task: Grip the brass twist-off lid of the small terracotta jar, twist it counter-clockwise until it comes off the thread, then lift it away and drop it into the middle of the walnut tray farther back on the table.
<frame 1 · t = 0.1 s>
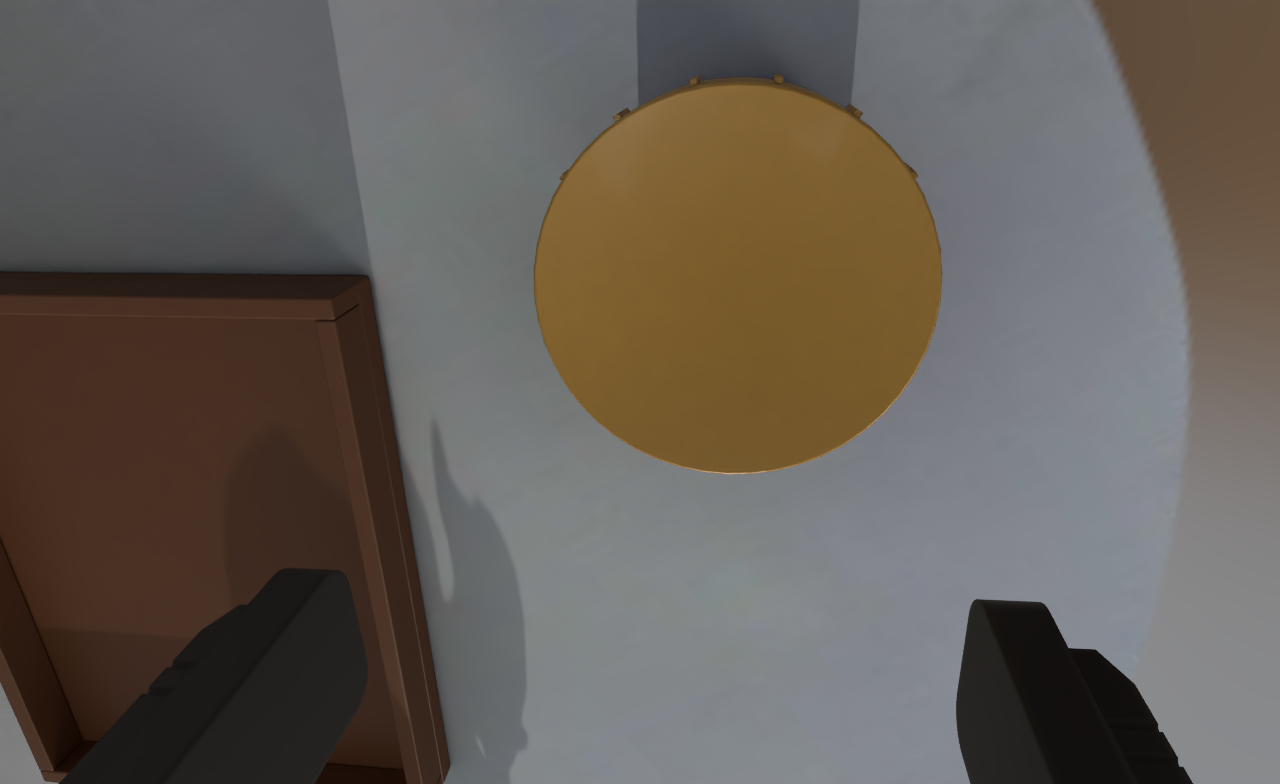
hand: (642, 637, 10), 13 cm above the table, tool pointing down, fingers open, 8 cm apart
jar lid: (731, 290, 12), point 9 cm above the table, screwed on, not yet turned
tray: (205, 544, 28), on the table
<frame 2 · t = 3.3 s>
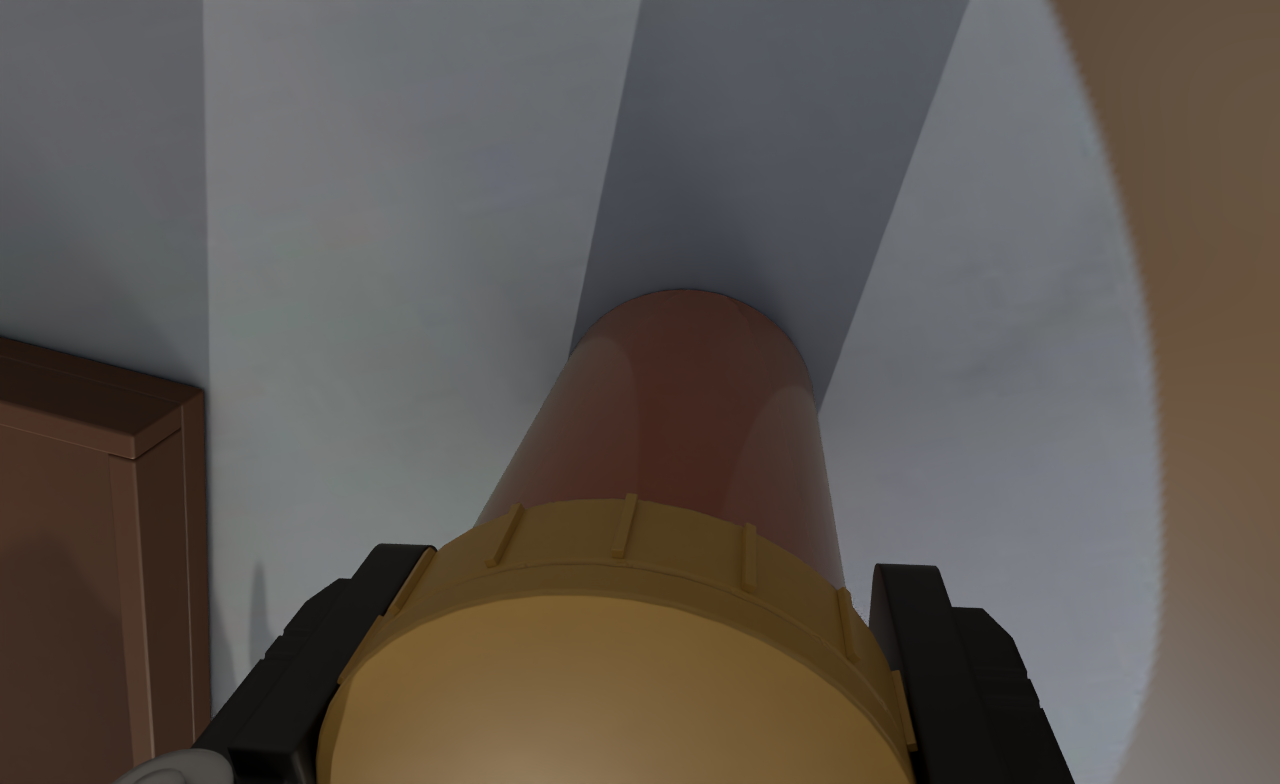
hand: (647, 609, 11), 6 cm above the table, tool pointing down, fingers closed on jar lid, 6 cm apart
jar: (685, 410, 16), on the table
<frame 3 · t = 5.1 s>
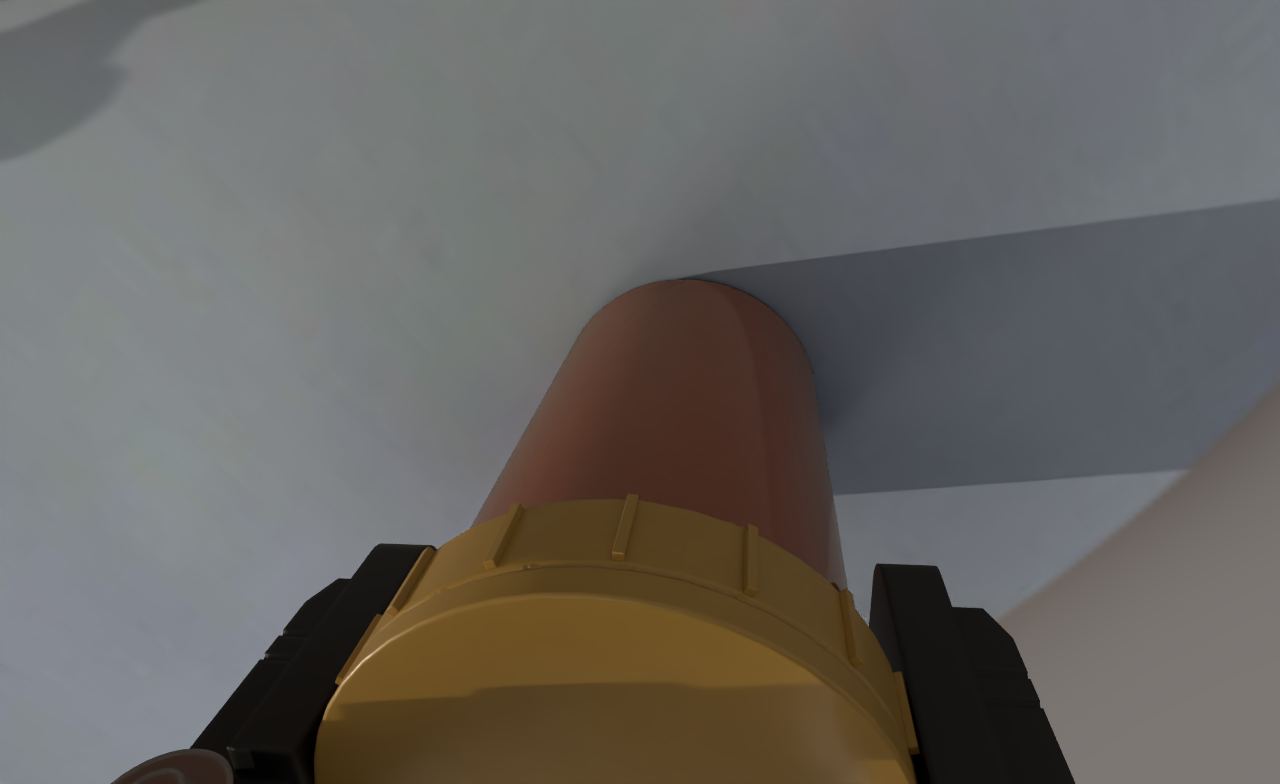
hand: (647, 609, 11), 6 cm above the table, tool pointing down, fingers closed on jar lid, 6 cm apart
jar: (687, 399, 17), on the table
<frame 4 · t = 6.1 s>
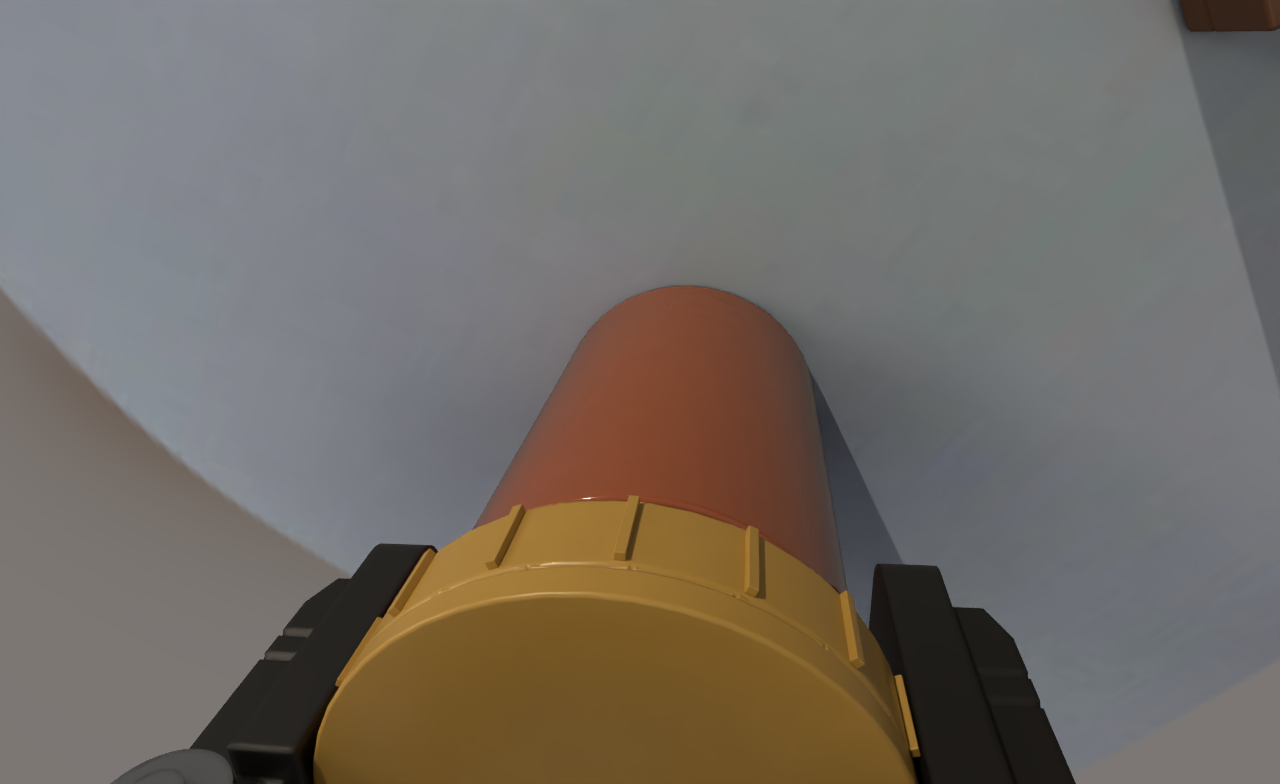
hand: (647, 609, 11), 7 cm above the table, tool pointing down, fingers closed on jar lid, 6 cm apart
jar: (687, 405, 17), on the table
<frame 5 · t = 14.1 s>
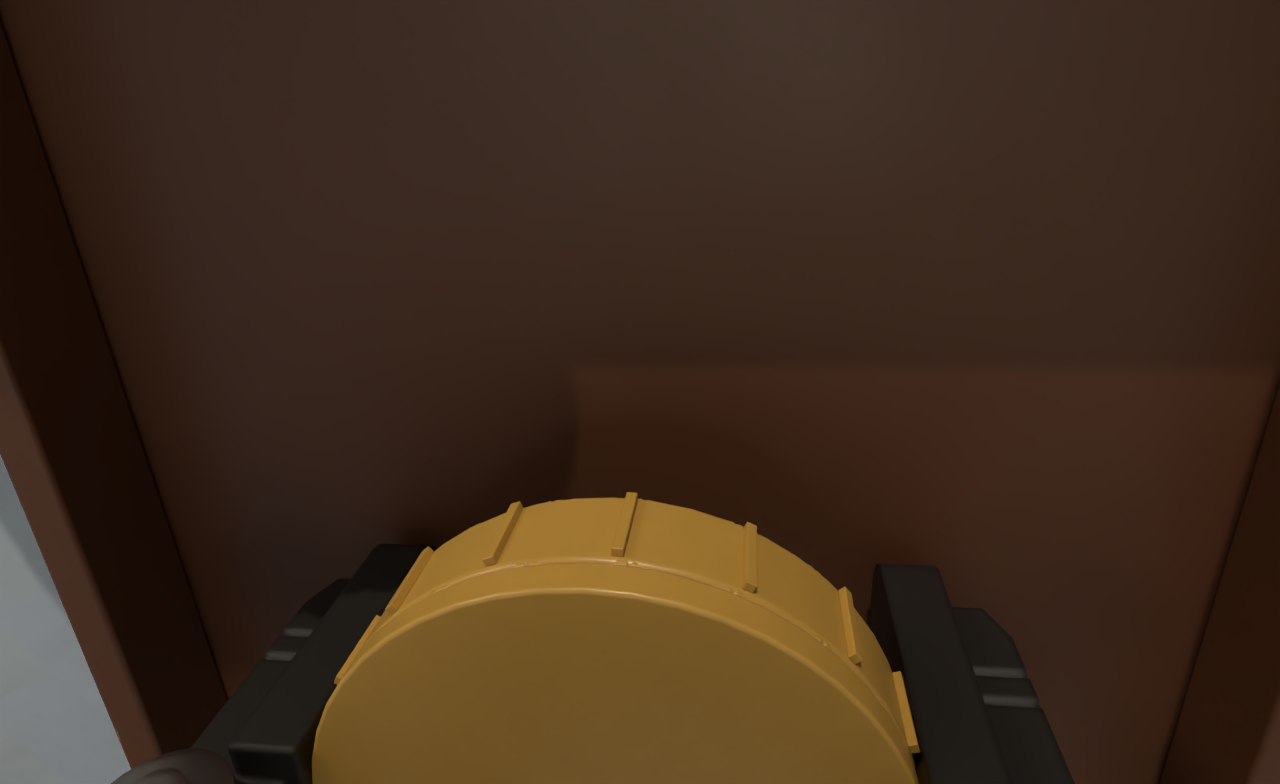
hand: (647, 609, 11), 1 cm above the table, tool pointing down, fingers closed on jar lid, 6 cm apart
tray: (658, 562, 12), on the table
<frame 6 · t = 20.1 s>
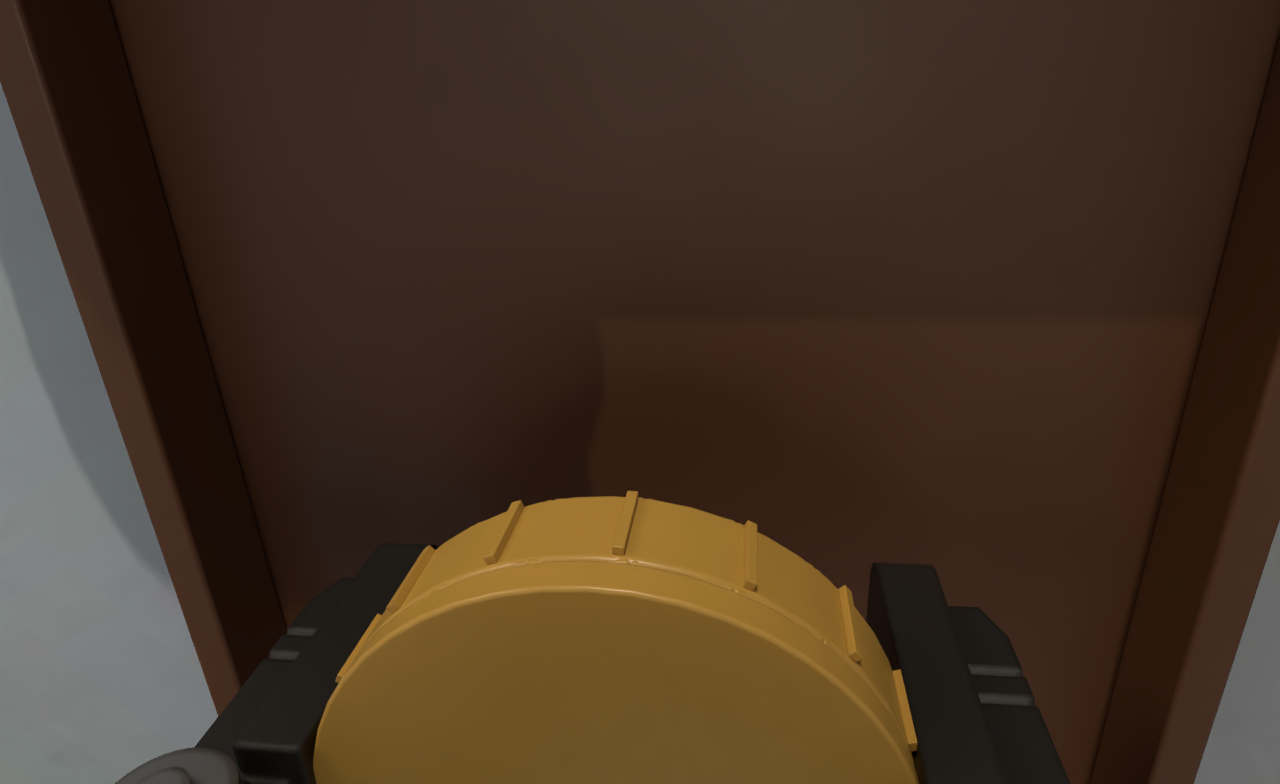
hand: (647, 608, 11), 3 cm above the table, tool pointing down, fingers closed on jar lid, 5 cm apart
tray: (672, 501, 13), on the table
when the fingers open (4 cm above the table, at t = 36.8 s): jar lid drops 5 cm, resting on tray.
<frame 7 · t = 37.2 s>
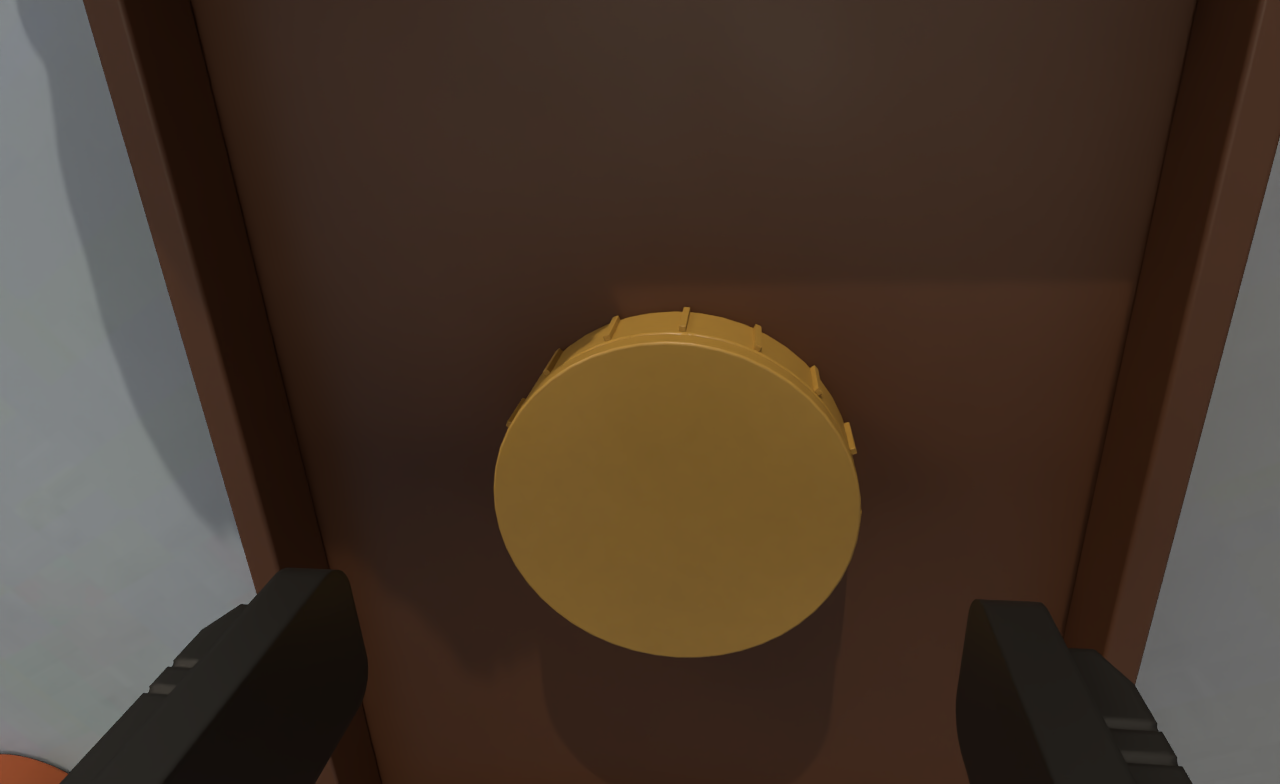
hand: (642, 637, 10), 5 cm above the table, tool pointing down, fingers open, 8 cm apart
jar lid: (674, 501, 13), point 2 cm above the table, off its thread, touching tray
tray: (677, 451, 15), on the table
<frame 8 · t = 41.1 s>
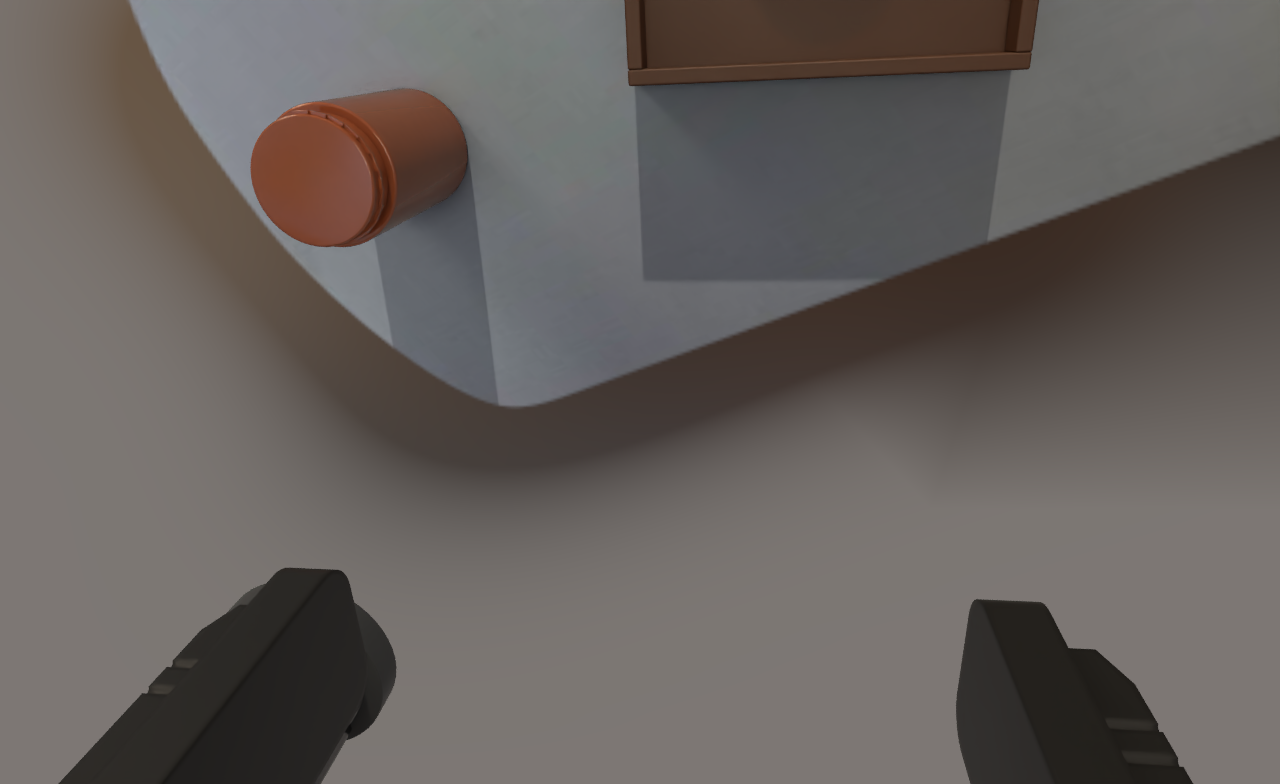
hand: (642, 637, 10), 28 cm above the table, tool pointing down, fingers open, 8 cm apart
jar: (412, 149, 36), on the table
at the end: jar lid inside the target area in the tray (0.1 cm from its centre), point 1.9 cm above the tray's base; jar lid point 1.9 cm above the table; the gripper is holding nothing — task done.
